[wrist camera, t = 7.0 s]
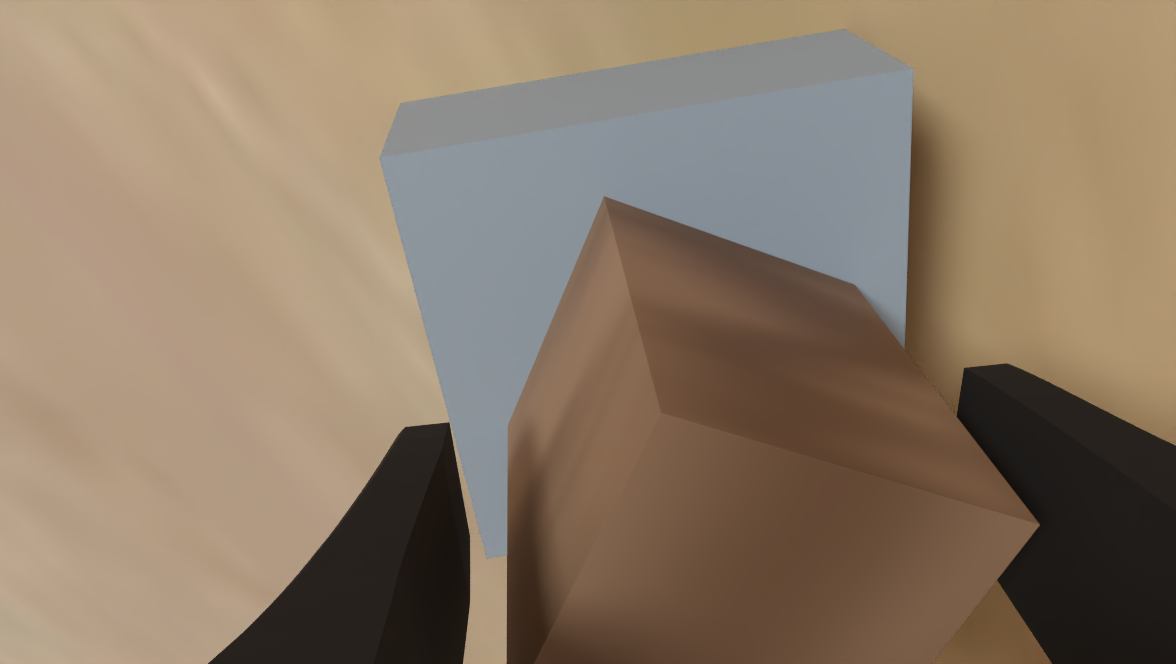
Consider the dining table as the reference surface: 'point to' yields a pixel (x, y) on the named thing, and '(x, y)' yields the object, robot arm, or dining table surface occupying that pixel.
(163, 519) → the dining table surface
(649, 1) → the dining table surface
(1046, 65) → the dining table surface
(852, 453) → the walnut block
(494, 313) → the base block
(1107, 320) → the dining table surface
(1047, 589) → the robot arm
